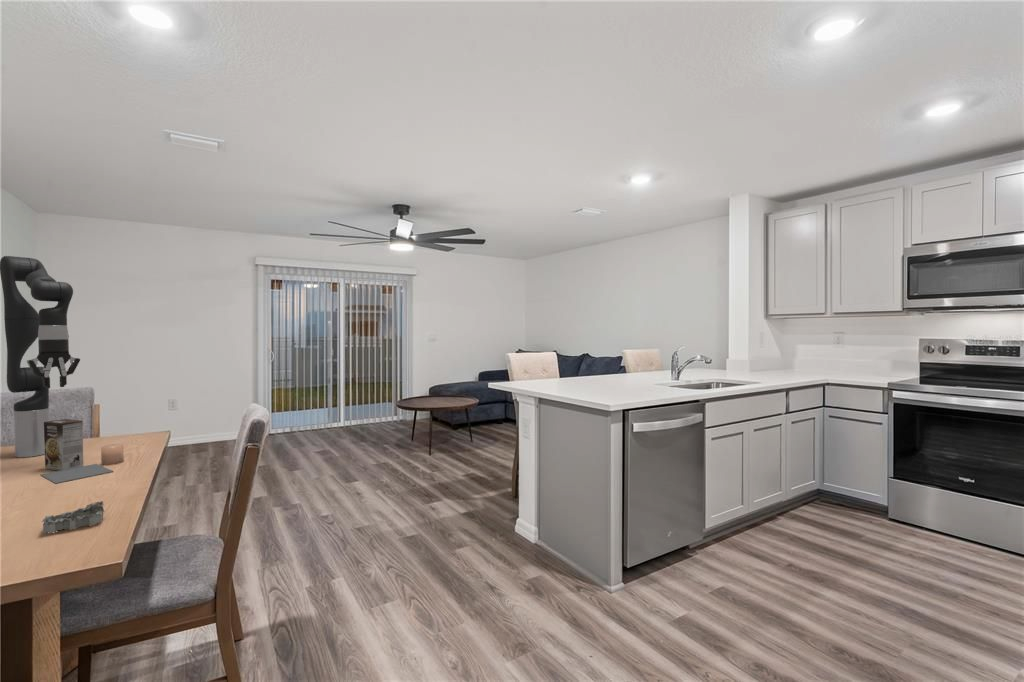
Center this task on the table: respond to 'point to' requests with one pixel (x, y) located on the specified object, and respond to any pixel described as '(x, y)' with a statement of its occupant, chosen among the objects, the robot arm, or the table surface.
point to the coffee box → (63, 444)
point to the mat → (76, 473)
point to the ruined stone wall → (74, 518)
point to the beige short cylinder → (112, 454)
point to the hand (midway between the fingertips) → (54, 387)
